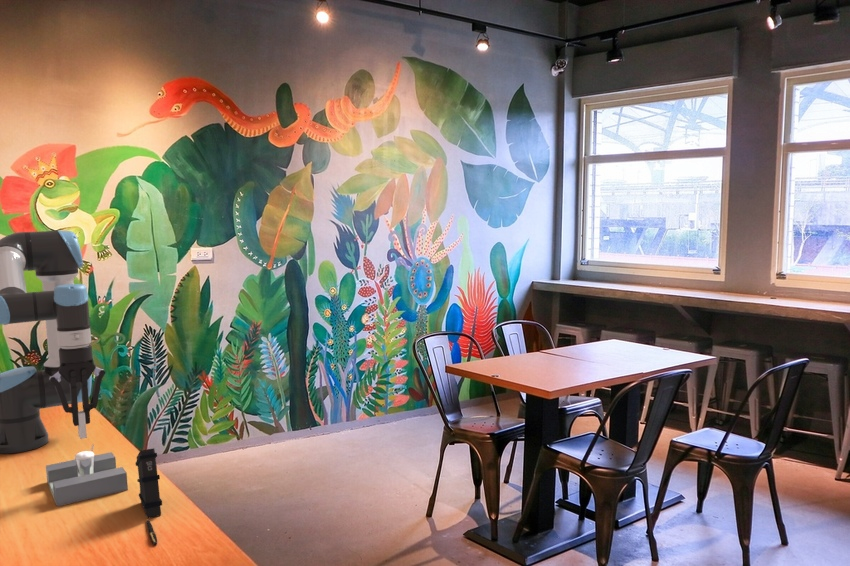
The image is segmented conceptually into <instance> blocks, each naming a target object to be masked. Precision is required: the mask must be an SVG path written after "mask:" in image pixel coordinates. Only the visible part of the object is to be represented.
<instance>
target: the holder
mask: <svg viewBox="0 0 850 566" xmlns="http://www.w3.org/2000/svg"><path fill="white" fill-rule="evenodd" d="M116 459H117V458H116V456H115V455H114V453H113V452H112V451H110V452H106V453H102V454H101V453H99V454H96V455H95V454H94V473H92V474H87V475H83V476H78V473H77V467H76V462H75V459H72V460H71V459H70V460H65V461H61V462H57V463H53V464H52V463H51V464H46V465H45V470H46V481H47V485H48V488H49V490H50V493H51V496H52V497H53V500H54V503H55V504H56V507H62V506H65V505H68V504H74V503H78V502H83V501H87V500H91V499H95V498H98V497H99V498H100V497H105V496H108V495H111V494H116V493H121V492H125V491H128V490H129V487H128V486H129V485H128V473H127V471H126V470H125V468H124V467H123V466H120V467H117V462H116V461H117V460H116Z"/></svg>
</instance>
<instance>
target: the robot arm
mask: <svg viewBox="0 0 850 566" xmlns="http://www.w3.org/2000/svg"><path fill="white" fill-rule="evenodd" d="M83 267H84V261H83V255H82V249H81V247H80V242H79V240H78V237H77V235H76V233H75V232H74V231H70V230H59V229H58V230H47V231H45V230H43V231H28V232H27V231H19V232H15V233H14V232H13V233H11V234H8V235H6V236H3V237H2V238H0V325H1V326H2V325H4V326H6V325H10V324H11V325H13V324H22V323H30V322H41V321H45V329H46V332H45V333H46V342H47V353H48V354H47V355H48V359H47V360H46V361H45V362H44V363H43V370H42V369H41V370H37V368H36V367H35V366H31V365H30V366H22V367H18V368H13V369H10V370H6V371H4V372H1V373H0V454H1V455H3V454H5V455H6V454H17V453H23V452H28V451H32V450H35V449H38V448H41V447H43V446H45V445H47V444H48V443H49V441H50V440H49V433H48V431H47V429H46V427H45V425H44V423H43V421H42V419H41V413H40V409H47V408H53V407H61V406H62V409H63V410H64V412H65V413H67V414H68V413H69V414H71V416H72V424H73V426H74V427H77V429H78V437H79V439H81V440H82V439H87V438H88V436H87V435H88V434H87V425H89V424H90V423H91V416H90V414H91V413H90V411H91V410H93V409H97V406H98V402H99V397H100V392H101V387H102V386H101V385H102V379H103V378H104V376H105V374H106V370H105V369H103V368H100V367H98V366H96V364H95V361H94V356H93V346H92V345H91V343H92V334H91V333H92V332H91V325H90V324H91V323H90V309H89V308H90V307H89V306H90V305H89V300H90V299H89V294H88V287H87V286H86V285H85V284H82V283H74V282H75V281H74V280H75V278H76V277H77V276H78V275H79V269H81V268H83ZM25 271H26V272H28V271H30V272H31V271H35V277H36V278H37V279H38V280H40V281H41V284H42V291H32V292H30V291H29V292H28V291H27V286H26V279H25ZM92 374H93V375H94V381H93V380H92V379H93V375H92ZM92 381H93V382H92ZM92 383H93V387H92ZM90 396H91V398H90ZM89 398H90V399H89ZM79 403H82V410H79ZM69 405H70V406H69Z"/></svg>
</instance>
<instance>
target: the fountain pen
mask: <svg viewBox="0 0 850 566" xmlns="http://www.w3.org/2000/svg"><path fill="white" fill-rule="evenodd" d="M145 523H146V527H147V530H148V535H149V539H150V541H151V543H152V544H153V545H154V546H157V545H158V539H157V534H156V532H155V530H154V527H153V525H152V523H151V521H150V519H149V518H147V519H146V522H145Z"/></svg>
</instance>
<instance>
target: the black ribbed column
mask: <svg viewBox="0 0 850 566" xmlns="http://www.w3.org/2000/svg"><path fill="white" fill-rule="evenodd" d="M157 457H158V453H157V452H155V448H154V447H152V448H148V449H143V450H139V451H138V454H137V455H136V461H135V467H137V472H138V473H137V475H138V478H137V482H138V483H139V493H138V498H139V499H140V502H141V503H140V504H141V506H142V508H143V511H144V514H145V516H146V518H147V519H151V518H156V517H160V516H162V511H161V509H162V508H161V506H163V500H162V499H161V496H160V488H159V487H160V485H159V480H160V479H161V477H160V476H161V475H160V474H158V468H157V459H156V458H157Z"/></svg>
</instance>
